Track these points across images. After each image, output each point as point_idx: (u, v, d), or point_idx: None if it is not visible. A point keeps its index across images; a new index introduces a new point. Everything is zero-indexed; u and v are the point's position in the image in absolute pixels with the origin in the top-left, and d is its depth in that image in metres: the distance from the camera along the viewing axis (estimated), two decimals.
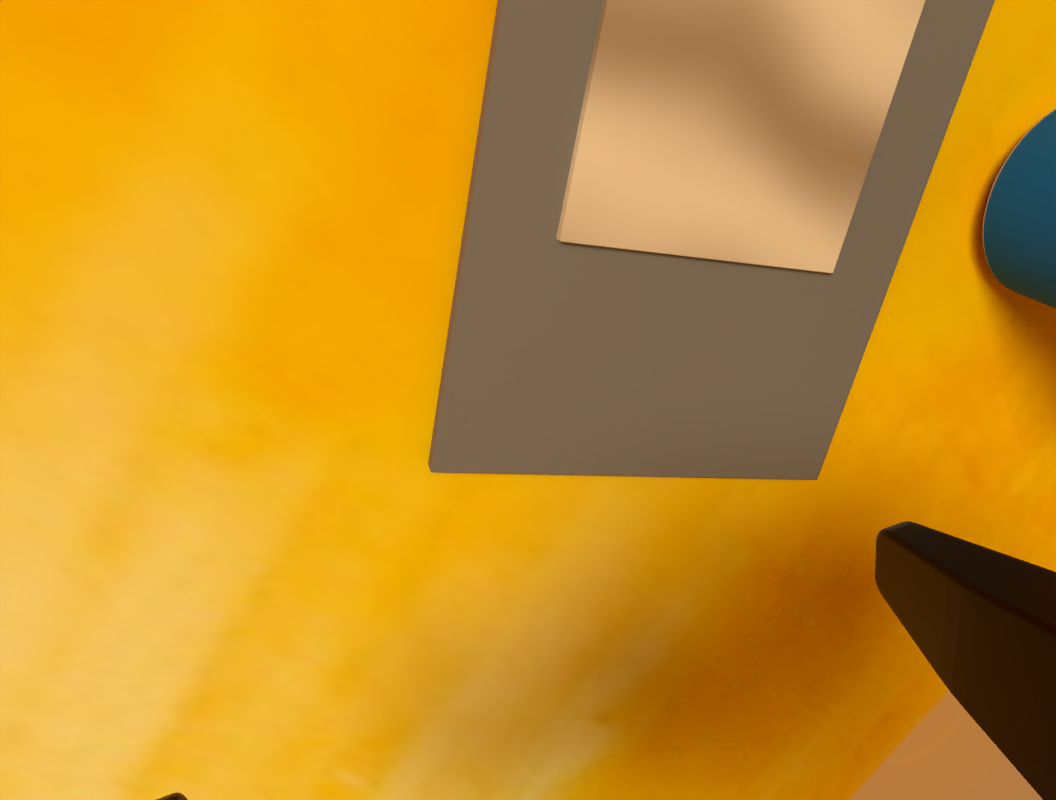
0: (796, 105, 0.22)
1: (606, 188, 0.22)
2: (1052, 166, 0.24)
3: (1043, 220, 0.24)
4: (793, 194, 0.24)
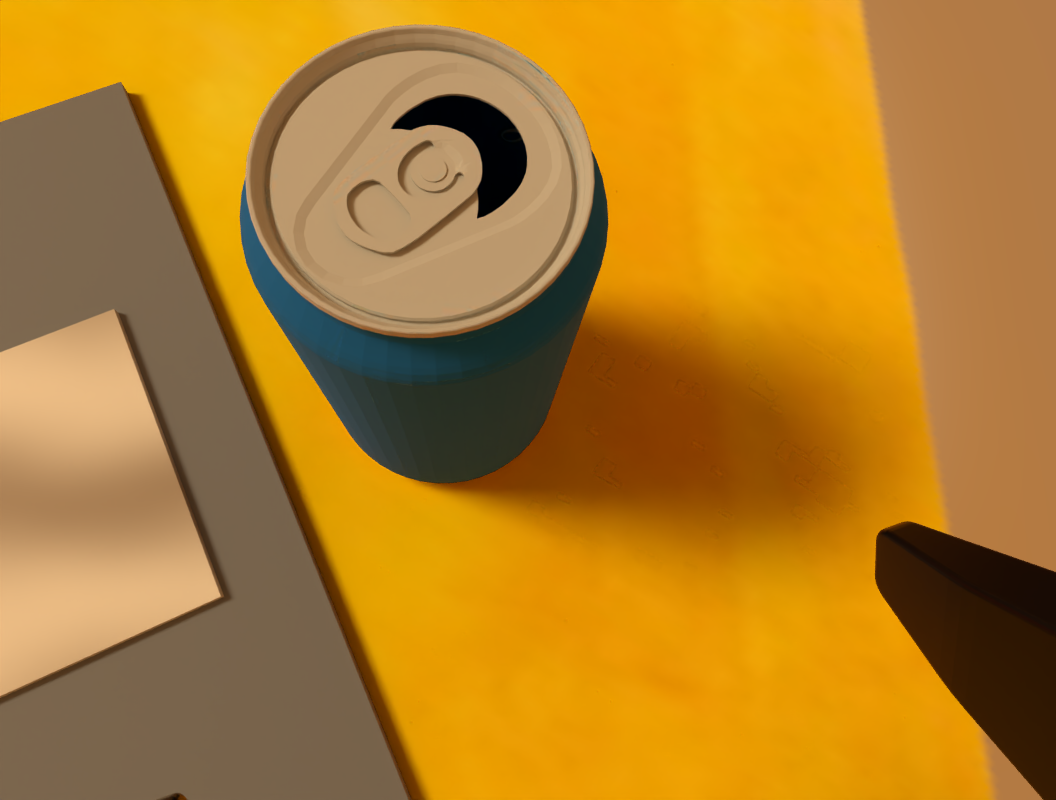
0: (58, 491, 0.22)
1: None
2: None
3: (338, 415, 0.21)
4: (113, 558, 0.22)
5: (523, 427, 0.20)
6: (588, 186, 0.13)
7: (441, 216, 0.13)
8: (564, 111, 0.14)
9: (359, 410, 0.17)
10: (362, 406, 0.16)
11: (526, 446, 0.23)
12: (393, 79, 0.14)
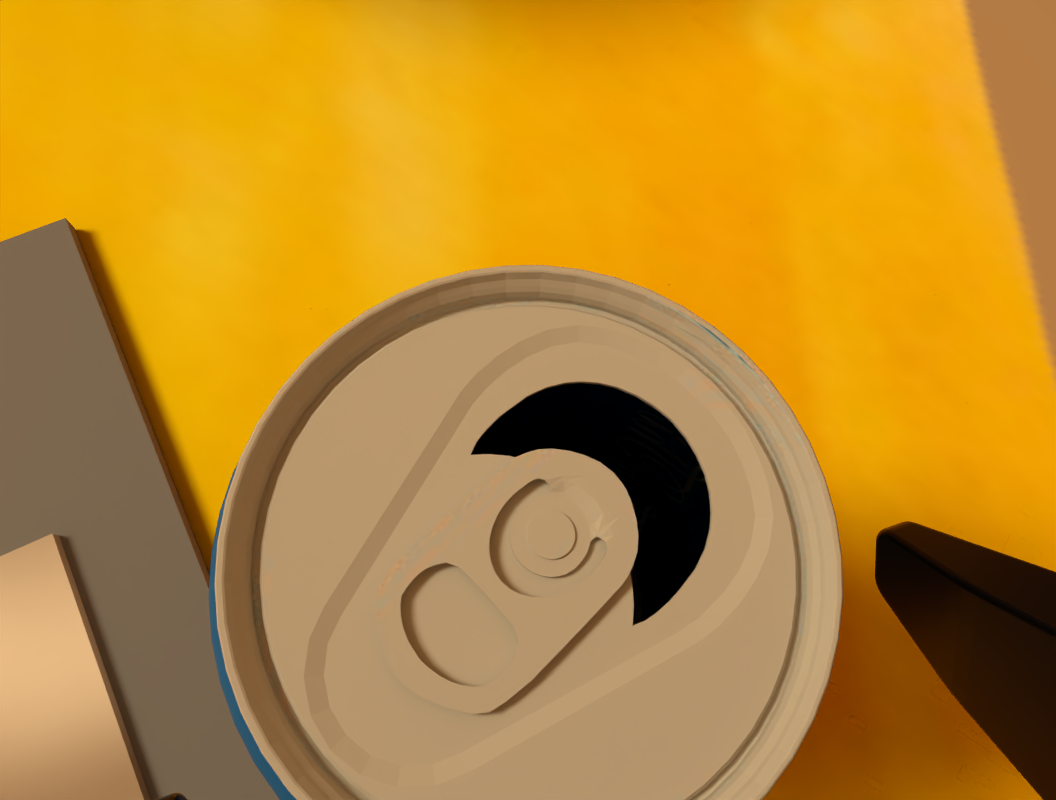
0: None
1: None
2: None
3: None
4: None
5: None
6: (831, 563, 0.07)
7: (571, 627, 0.07)
8: (771, 413, 0.08)
9: None
10: None
11: None
12: (472, 363, 0.08)
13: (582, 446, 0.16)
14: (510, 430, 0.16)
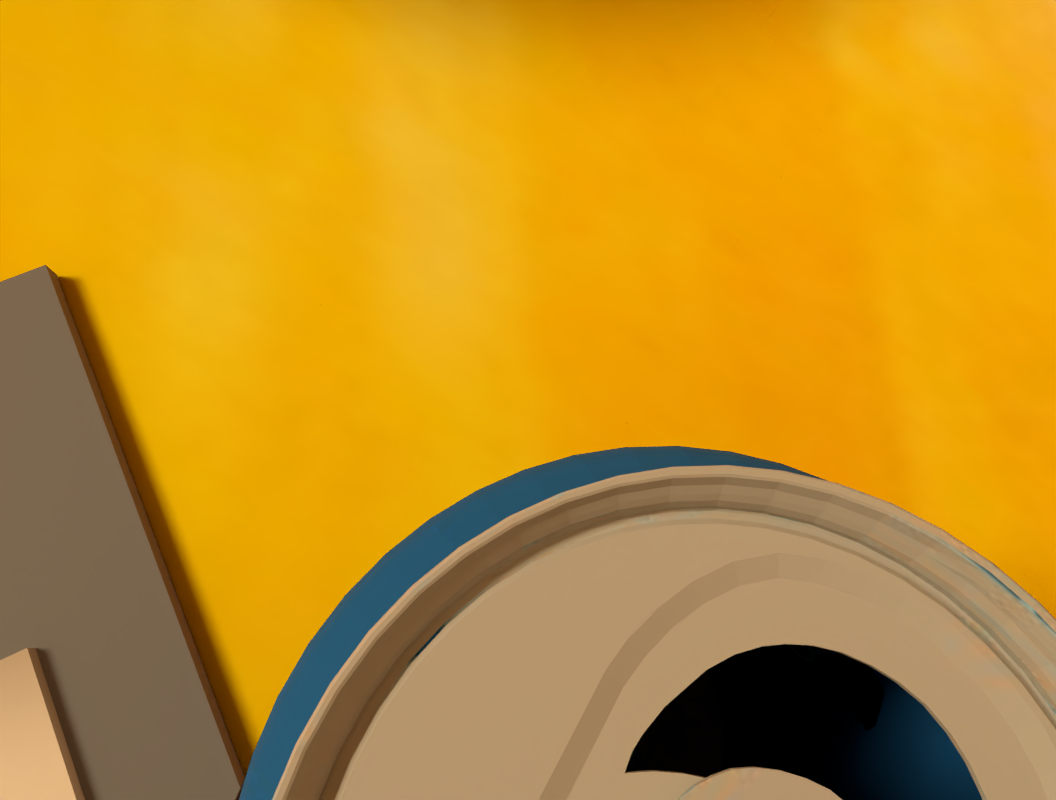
0: None
1: None
2: None
3: None
4: None
5: None
6: None
7: None
8: None
9: None
10: None
11: None
12: (623, 621, 0.05)
13: None
14: None
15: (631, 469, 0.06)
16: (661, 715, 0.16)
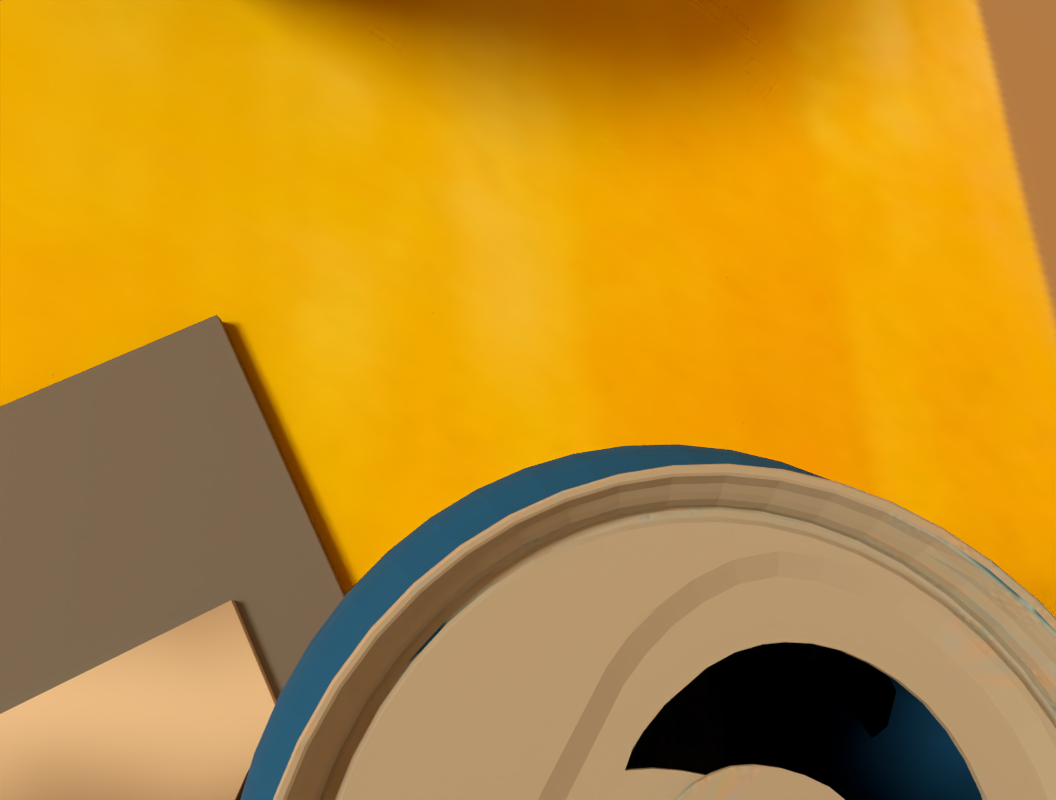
0: None
1: None
2: None
3: None
4: None
5: None
6: None
7: None
8: None
9: None
10: None
11: None
12: (623, 619, 0.05)
13: None
14: None
15: (632, 467, 0.06)
16: (662, 713, 0.16)
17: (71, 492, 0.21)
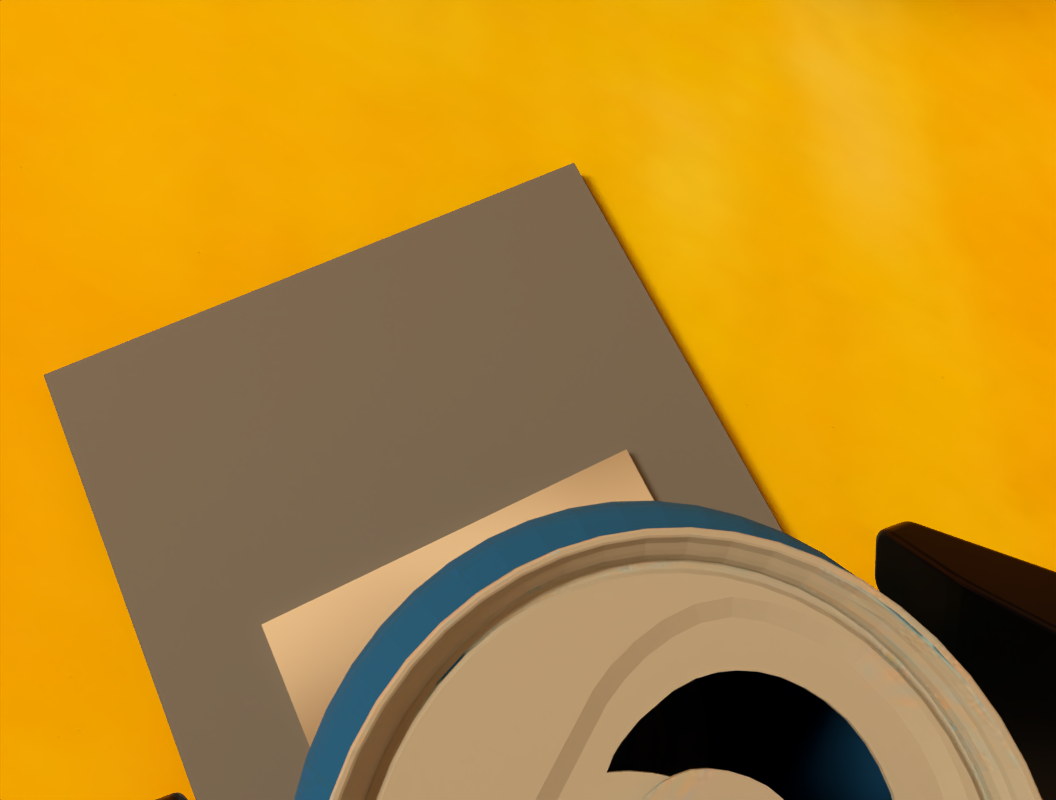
0: None
1: None
2: None
3: None
4: None
5: None
6: None
7: None
8: (973, 718, 0.06)
9: None
10: None
11: None
12: (606, 652, 0.07)
13: None
14: None
15: (615, 524, 0.07)
16: (651, 719, 0.17)
17: (443, 337, 0.20)
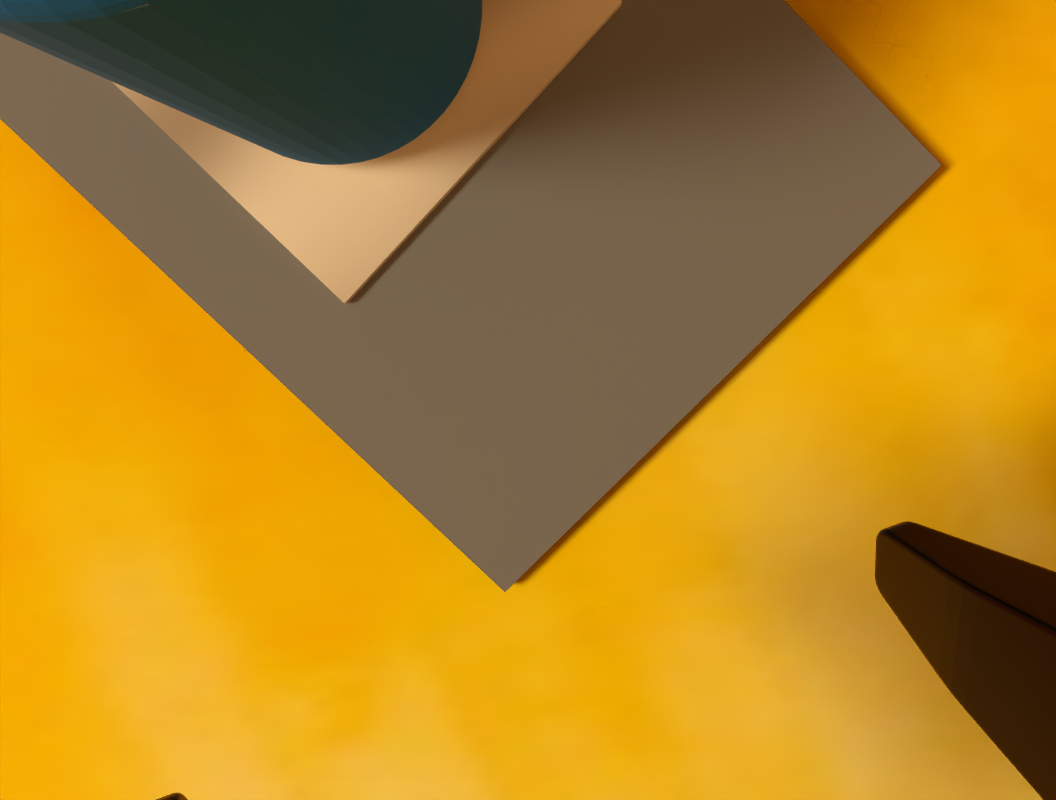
0: None
1: (323, 222, 0.19)
2: None
3: None
4: None
5: (435, 29, 0.13)
6: None
7: None
8: None
9: (166, 92, 0.11)
10: (157, 83, 0.10)
11: (470, 62, 0.17)
12: None
13: None
14: None
15: None
16: None
17: None
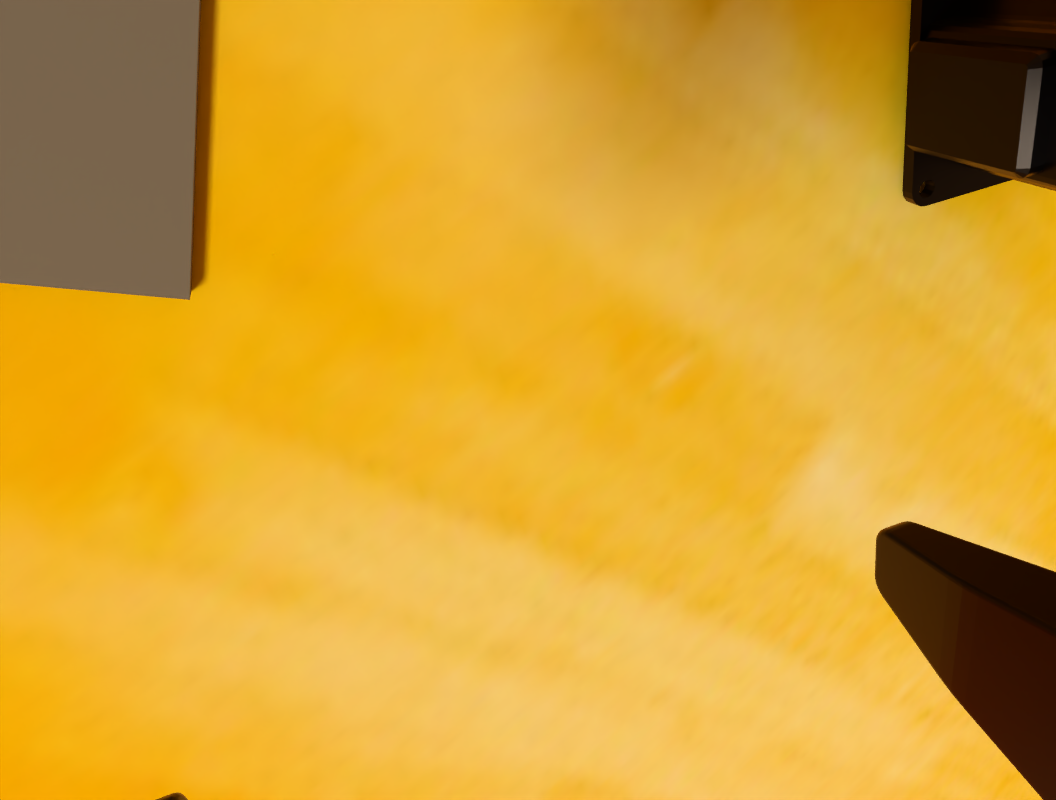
0: None
1: None
2: None
3: None
4: None
5: None
6: None
7: None
8: None
9: None
10: None
11: None
12: None
13: None
14: None
15: None
16: None
17: None
